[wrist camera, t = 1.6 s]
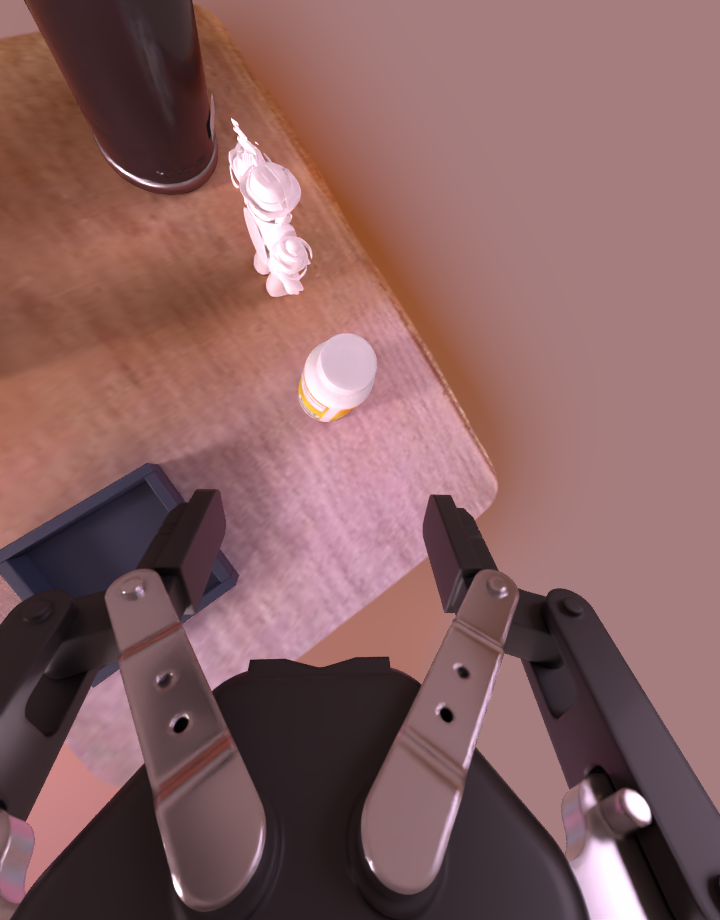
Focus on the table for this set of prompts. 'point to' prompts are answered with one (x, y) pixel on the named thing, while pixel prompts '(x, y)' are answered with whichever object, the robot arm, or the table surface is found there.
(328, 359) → the supplement bottle
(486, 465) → the table surface
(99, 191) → the table surface
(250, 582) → the table surface
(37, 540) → the tray
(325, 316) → the table surface
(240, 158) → the hat wearing toy figure
